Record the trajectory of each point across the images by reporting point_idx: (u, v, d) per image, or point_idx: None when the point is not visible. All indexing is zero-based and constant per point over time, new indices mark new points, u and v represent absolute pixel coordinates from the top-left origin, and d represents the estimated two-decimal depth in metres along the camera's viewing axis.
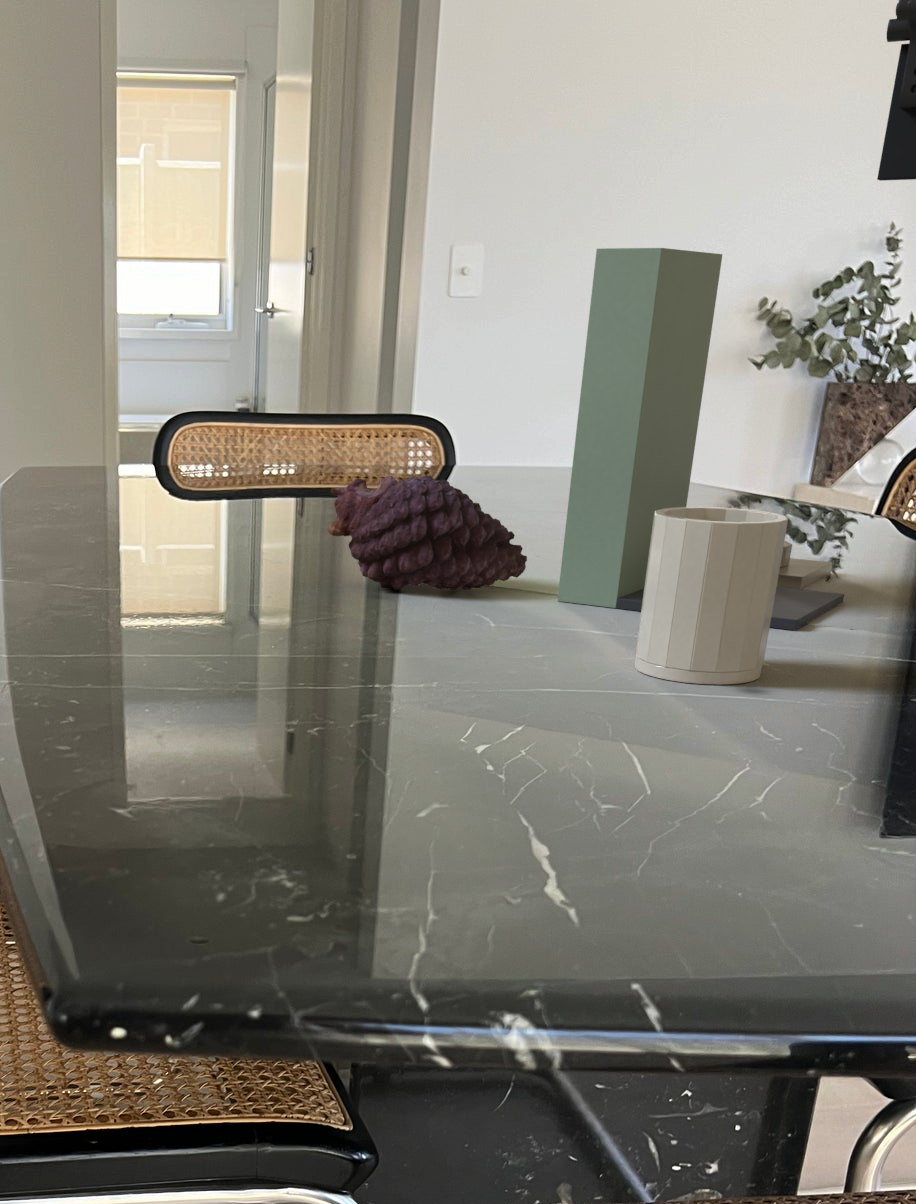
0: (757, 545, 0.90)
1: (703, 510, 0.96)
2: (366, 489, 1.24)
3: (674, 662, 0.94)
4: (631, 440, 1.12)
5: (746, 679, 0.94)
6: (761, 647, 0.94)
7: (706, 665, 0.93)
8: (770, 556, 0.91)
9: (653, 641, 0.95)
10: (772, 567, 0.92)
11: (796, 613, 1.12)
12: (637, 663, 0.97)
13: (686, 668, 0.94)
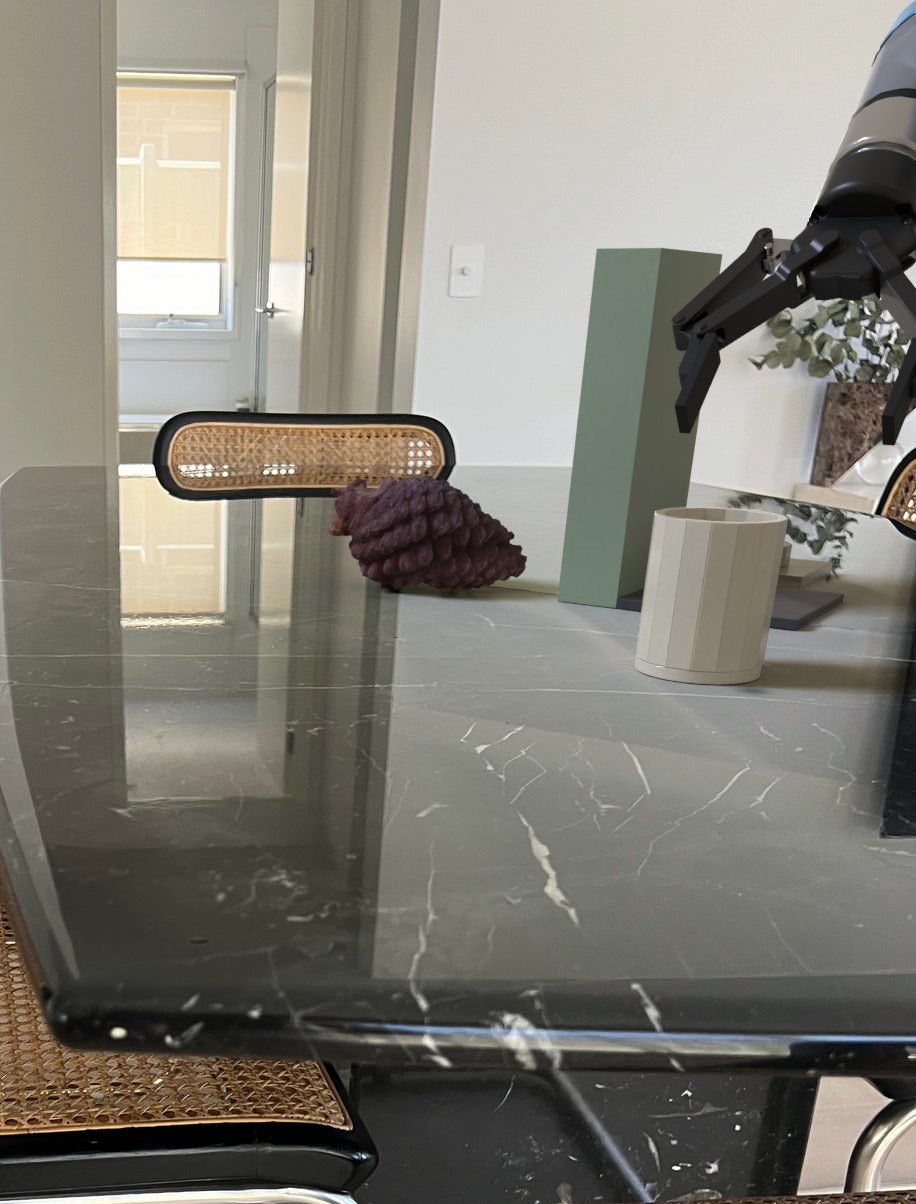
0: (757, 545, 0.90)
1: (703, 510, 0.96)
2: (366, 489, 1.24)
3: (674, 662, 0.94)
4: (631, 440, 1.12)
5: (746, 679, 0.94)
6: (761, 647, 0.94)
7: (706, 665, 0.93)
8: (770, 556, 0.91)
9: (653, 641, 0.95)
10: (772, 567, 0.92)
11: (796, 613, 1.12)
12: (637, 663, 0.97)
13: (686, 668, 0.94)
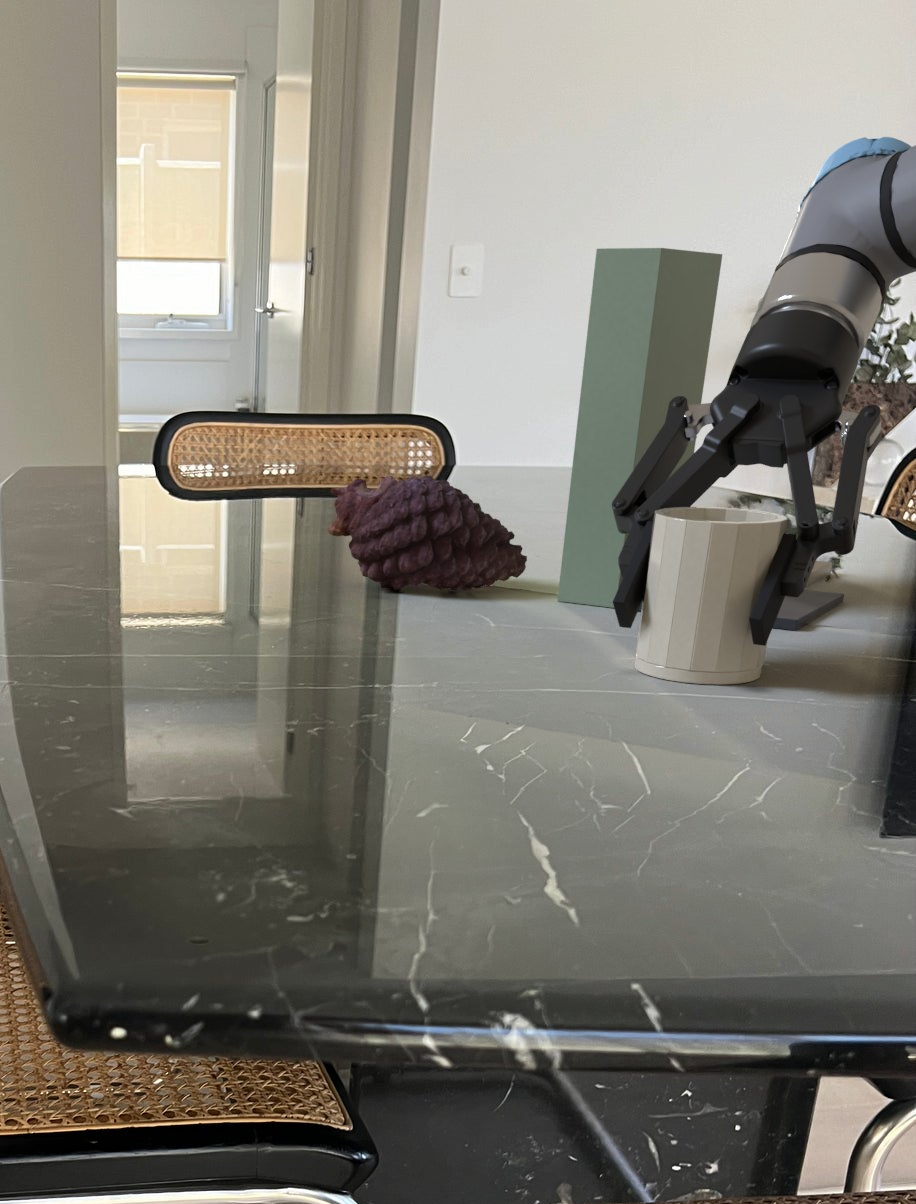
0: (757, 545, 0.90)
1: (703, 510, 0.96)
2: (366, 489, 1.24)
3: (674, 662, 0.94)
4: (631, 440, 1.12)
5: (746, 679, 0.94)
6: (761, 647, 0.94)
7: (706, 665, 0.93)
8: (770, 556, 0.91)
9: (653, 641, 0.95)
10: None
11: (796, 613, 1.12)
12: (637, 663, 0.97)
13: (686, 668, 0.94)
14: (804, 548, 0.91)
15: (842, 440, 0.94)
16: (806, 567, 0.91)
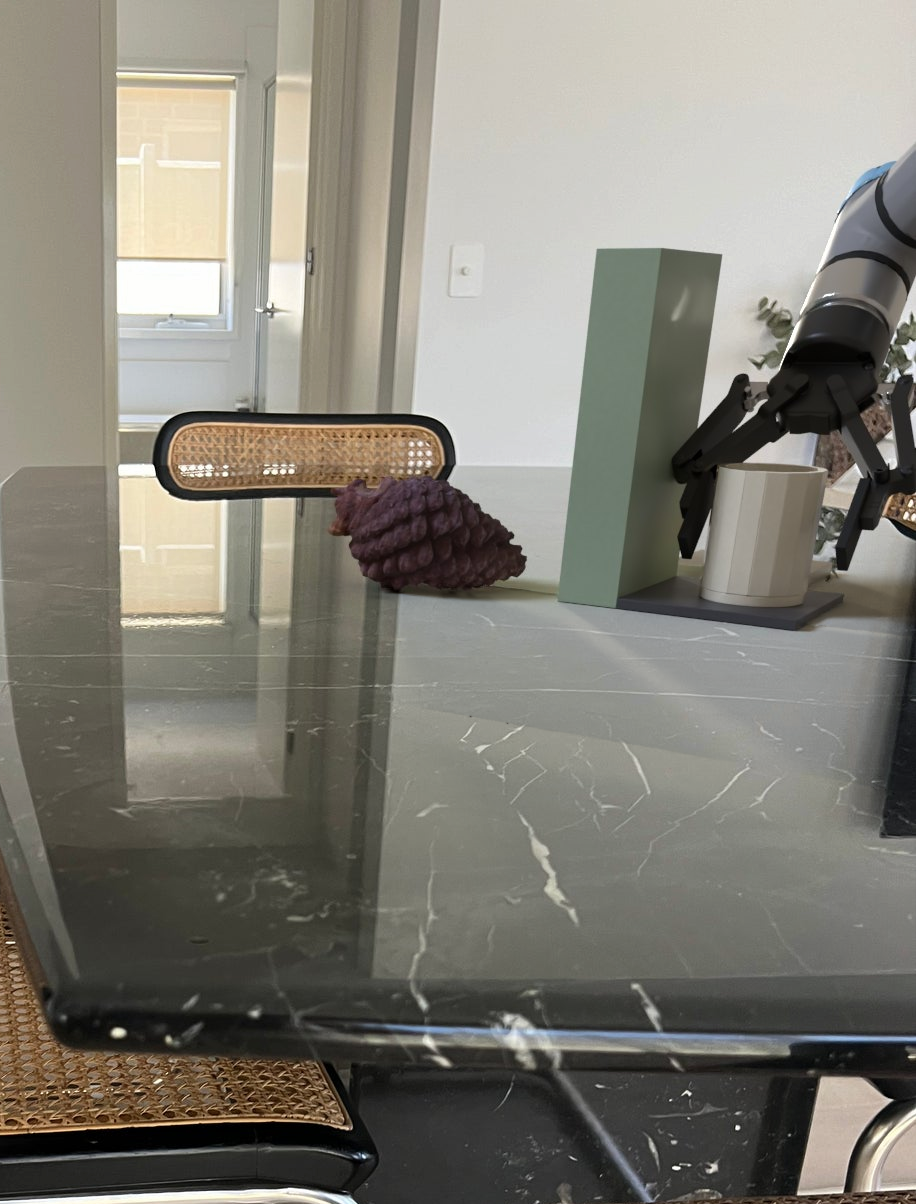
0: (804, 491, 1.11)
1: (756, 465, 1.17)
2: (366, 489, 1.24)
3: (734, 589, 1.14)
4: (631, 440, 1.12)
5: (793, 603, 1.14)
6: (805, 577, 1.14)
7: (760, 591, 1.14)
8: (814, 500, 1.11)
9: (716, 572, 1.15)
10: (815, 510, 1.12)
11: (796, 613, 1.12)
12: (702, 592, 1.17)
13: (744, 594, 1.14)
14: (878, 489, 1.10)
15: (884, 407, 1.14)
16: (880, 505, 1.10)
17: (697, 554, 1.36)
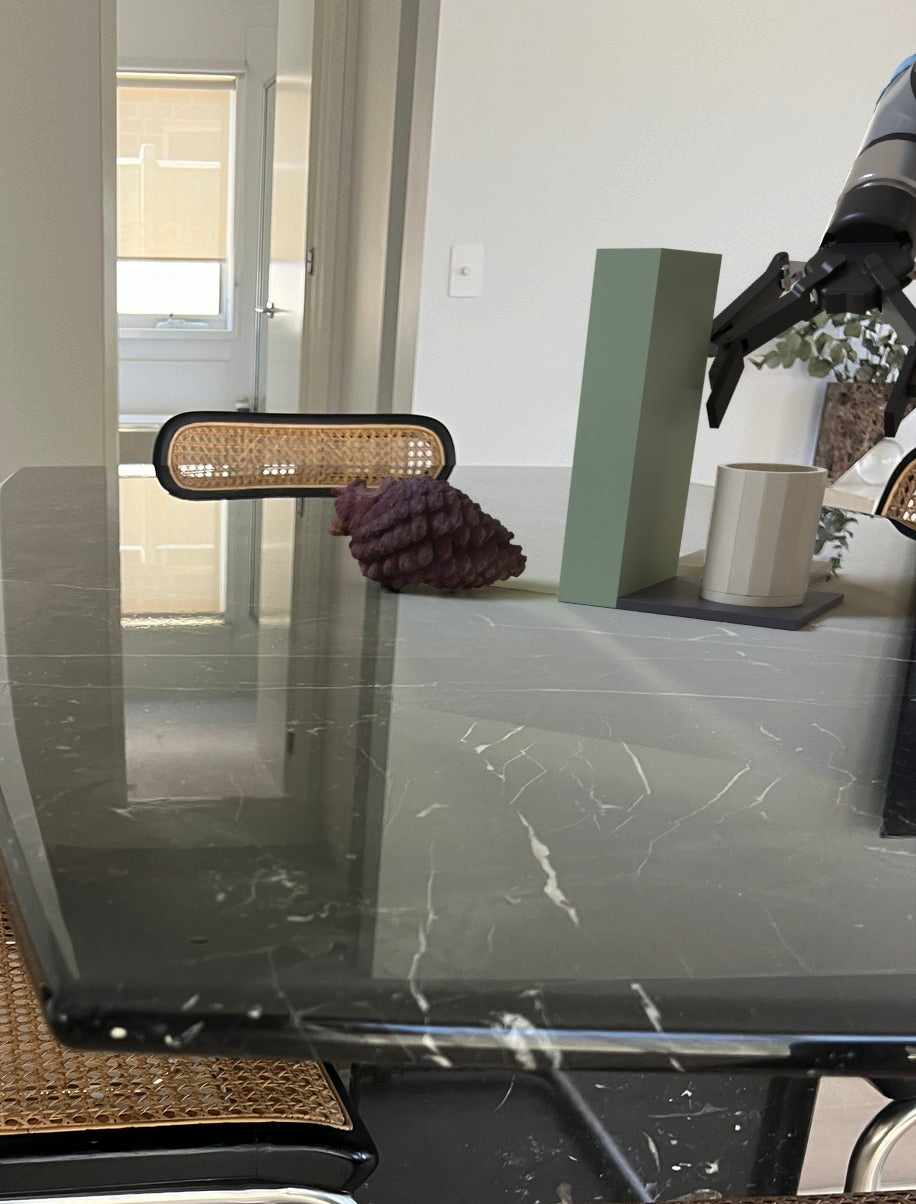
0: (804, 491, 1.11)
1: (756, 465, 1.17)
2: (366, 489, 1.24)
3: (734, 589, 1.14)
4: (631, 440, 1.12)
5: (793, 603, 1.14)
6: (805, 577, 1.14)
7: (760, 591, 1.14)
8: (814, 500, 1.11)
9: (716, 572, 1.15)
10: (815, 510, 1.12)
11: (796, 613, 1.12)
12: (702, 592, 1.17)
13: (744, 594, 1.14)
14: None
15: None
16: None
17: (697, 554, 1.36)
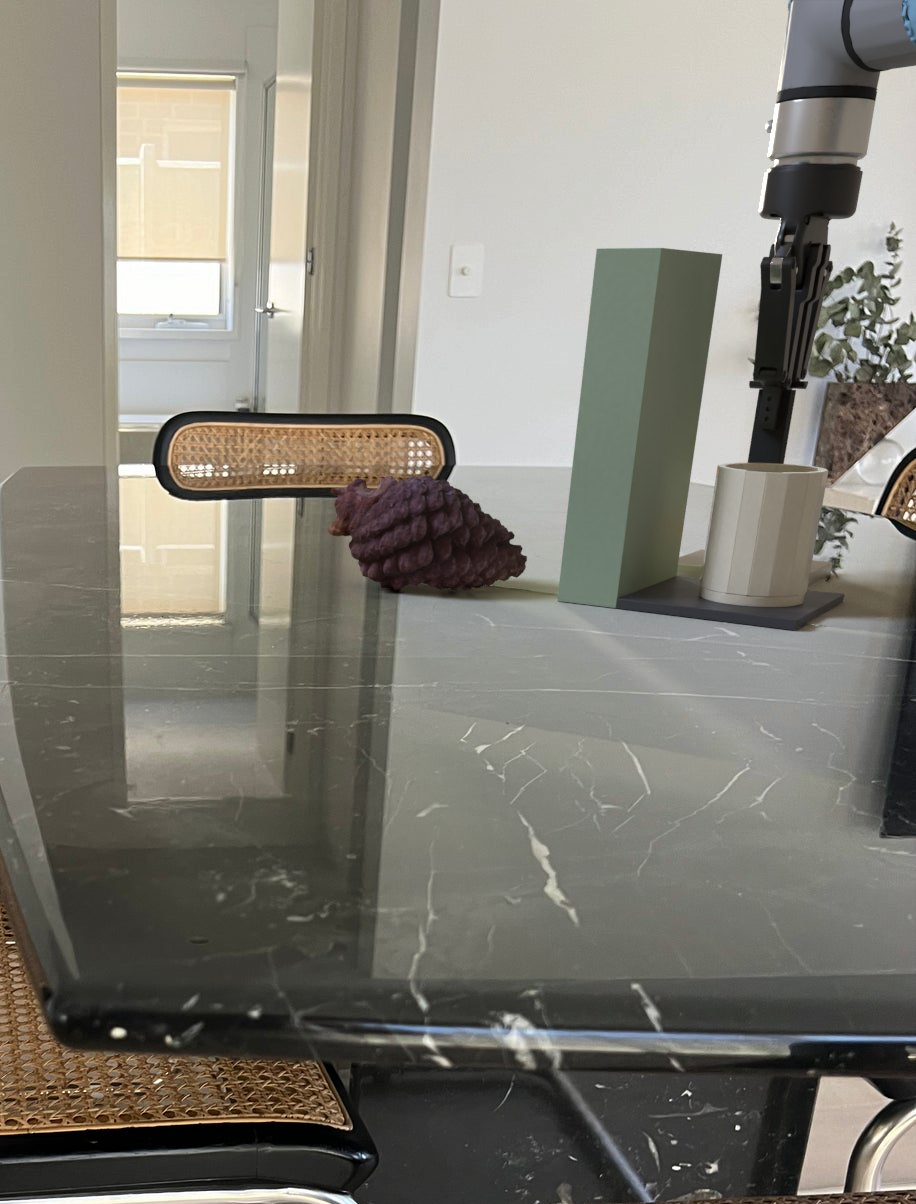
0: (804, 491, 1.11)
1: (756, 465, 1.17)
2: (366, 489, 1.24)
3: (734, 589, 1.14)
4: (631, 440, 1.12)
5: (793, 603, 1.14)
6: (805, 577, 1.14)
7: (760, 591, 1.14)
8: (814, 500, 1.11)
9: (716, 572, 1.15)
10: (815, 510, 1.12)
11: (796, 613, 1.12)
12: (702, 592, 1.17)
13: (744, 594, 1.14)
14: None
15: None
16: None
17: (697, 554, 1.36)
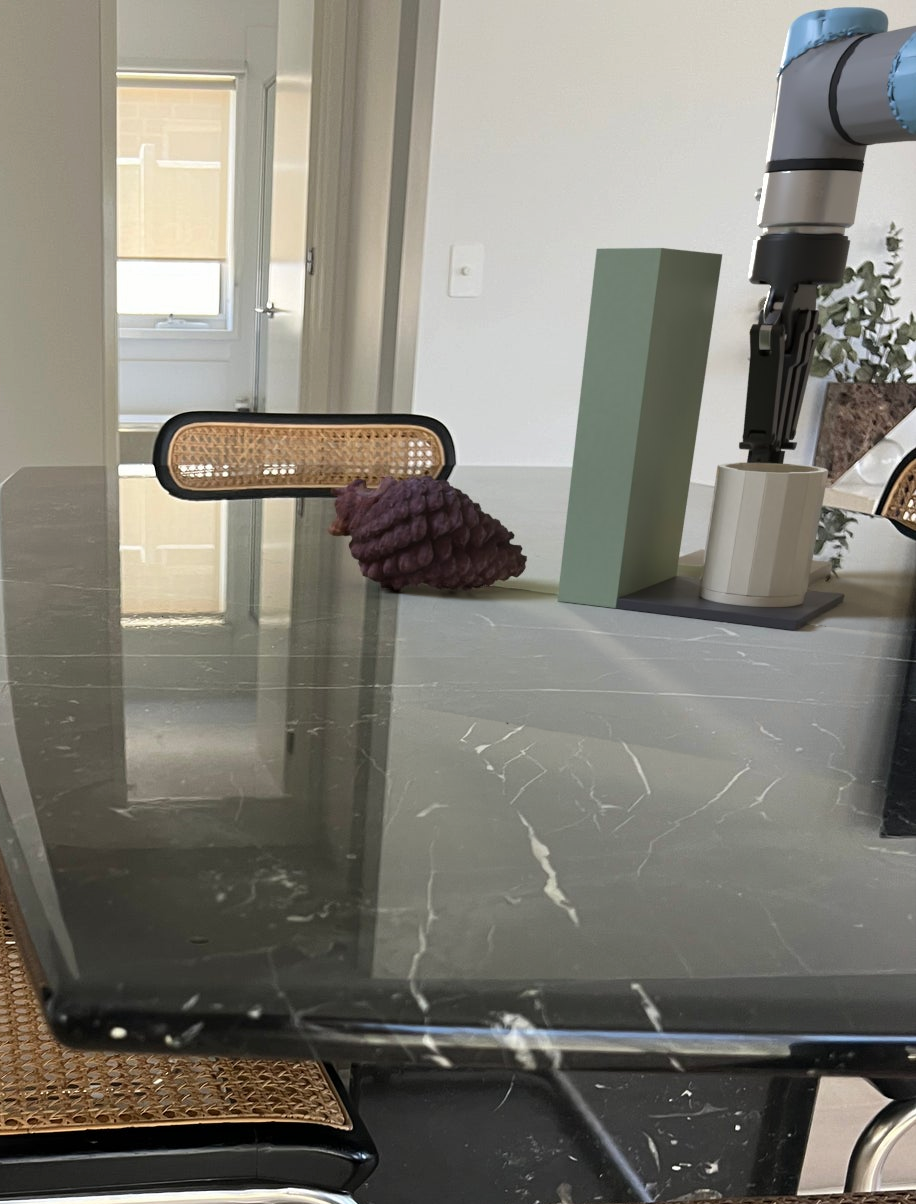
0: (804, 491, 1.11)
1: (756, 465, 1.17)
2: (366, 489, 1.24)
3: (734, 589, 1.14)
4: (631, 440, 1.12)
5: (793, 603, 1.14)
6: (805, 577, 1.14)
7: (760, 591, 1.14)
8: (814, 500, 1.11)
9: (716, 572, 1.15)
10: (815, 510, 1.12)
11: (796, 613, 1.12)
12: (702, 592, 1.17)
13: (744, 594, 1.14)
14: None
15: None
16: None
17: (697, 554, 1.36)
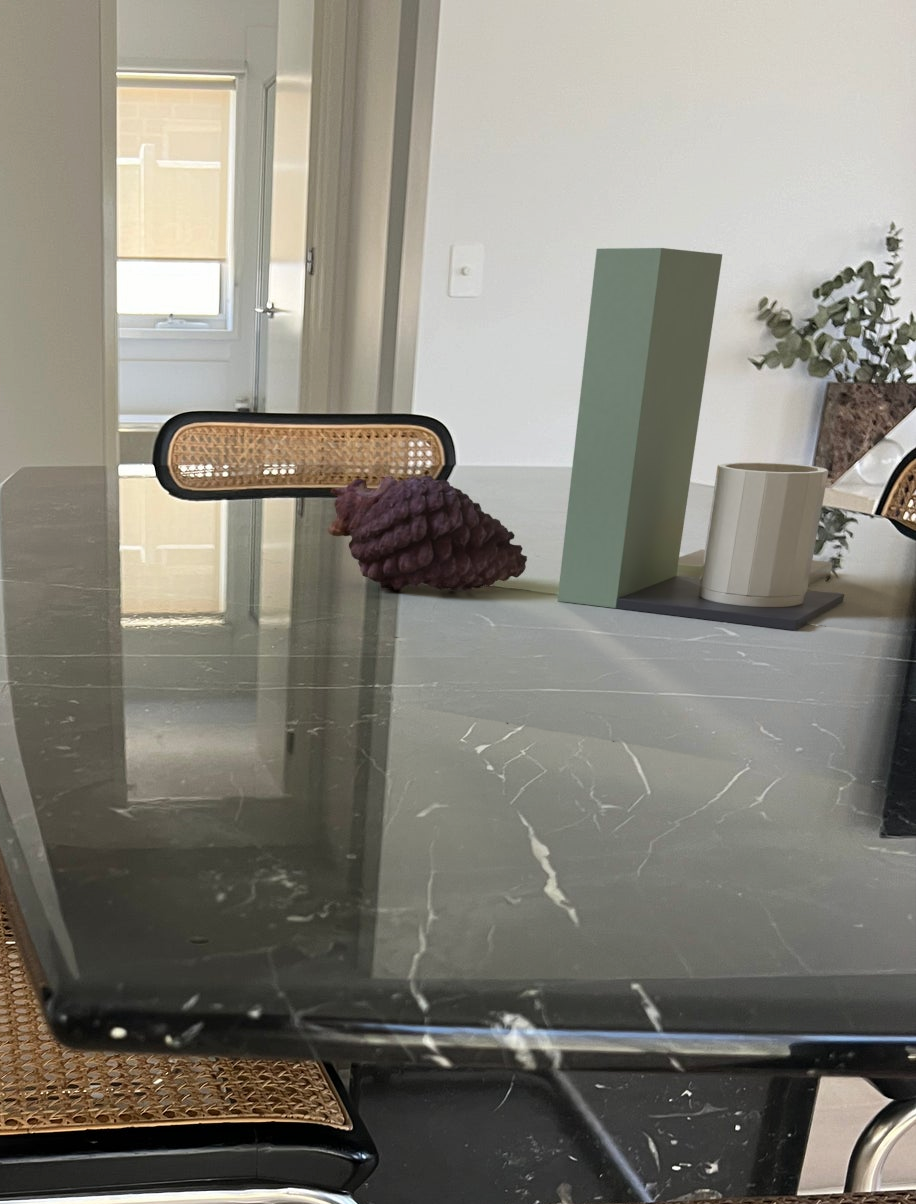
0: (804, 491, 1.11)
1: (756, 465, 1.17)
2: (366, 489, 1.24)
3: (734, 589, 1.14)
4: (631, 440, 1.12)
5: (793, 603, 1.14)
6: (805, 577, 1.14)
7: (760, 591, 1.14)
8: (814, 500, 1.11)
9: (716, 572, 1.15)
10: (815, 510, 1.12)
11: (796, 613, 1.12)
12: (702, 592, 1.17)
13: (744, 594, 1.14)
14: None
15: None
16: None
17: (697, 554, 1.36)
